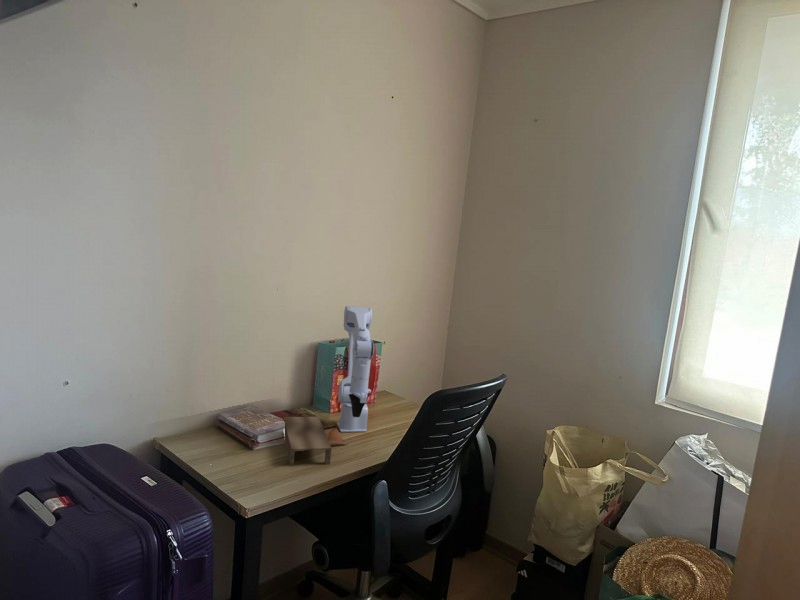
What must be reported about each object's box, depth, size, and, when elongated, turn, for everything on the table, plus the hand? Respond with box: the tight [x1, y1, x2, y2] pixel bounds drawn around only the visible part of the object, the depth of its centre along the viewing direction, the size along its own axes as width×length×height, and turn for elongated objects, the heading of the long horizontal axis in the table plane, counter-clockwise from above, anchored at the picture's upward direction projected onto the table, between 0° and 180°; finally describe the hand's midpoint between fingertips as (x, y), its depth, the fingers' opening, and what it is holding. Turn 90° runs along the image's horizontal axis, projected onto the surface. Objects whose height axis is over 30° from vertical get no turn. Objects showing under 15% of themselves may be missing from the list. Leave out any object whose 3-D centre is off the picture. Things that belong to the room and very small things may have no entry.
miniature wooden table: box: [282, 416, 332, 467], centre depth 177 cm, size 12×25×5 cm, turn 18°
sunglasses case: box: [297, 427, 348, 454], centre depth 181 cm, size 18×7×7 cm, turn 127°
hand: (356, 416), depth 181 cm, fingers closed
